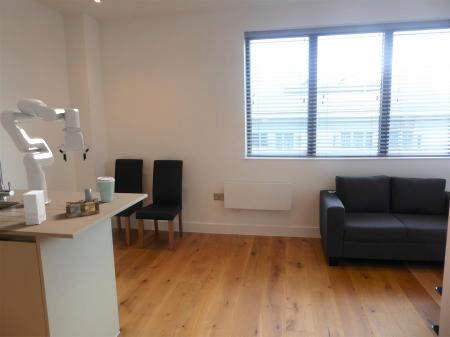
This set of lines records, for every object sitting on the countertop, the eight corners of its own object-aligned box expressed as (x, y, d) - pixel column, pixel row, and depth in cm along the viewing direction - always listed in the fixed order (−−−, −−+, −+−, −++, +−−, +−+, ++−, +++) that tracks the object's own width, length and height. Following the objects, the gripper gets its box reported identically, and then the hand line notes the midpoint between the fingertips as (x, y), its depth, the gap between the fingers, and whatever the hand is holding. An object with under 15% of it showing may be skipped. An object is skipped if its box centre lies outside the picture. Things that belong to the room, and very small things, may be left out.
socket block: (66, 218, 163) (65, 206, 162) (67, 212, 173) (65, 201, 172) (99, 213, 170) (98, 202, 169) (98, 208, 180) (97, 197, 179)
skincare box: (34, 219, 162) (30, 190, 159) (47, 219, 162) (44, 189, 160) (25, 225, 153) (21, 194, 151) (39, 224, 154) (35, 193, 152)
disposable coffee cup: (116, 198, 203) (114, 175, 201) (116, 202, 193) (114, 178, 191) (98, 200, 200) (96, 176, 197) (98, 204, 190) (96, 179, 187)
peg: (86, 209, 171) (84, 190, 169) (86, 208, 174) (84, 188, 172) (93, 208, 172) (91, 189, 171) (93, 207, 176) (91, 187, 174)
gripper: (55, 131, 171) (57, 162, 174) (89, 130, 178) (91, 160, 181) (56, 130, 178) (58, 160, 180) (89, 130, 185) (91, 159, 188)
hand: (75, 160), depth 181 cm, fingers open, 9 cm apart
